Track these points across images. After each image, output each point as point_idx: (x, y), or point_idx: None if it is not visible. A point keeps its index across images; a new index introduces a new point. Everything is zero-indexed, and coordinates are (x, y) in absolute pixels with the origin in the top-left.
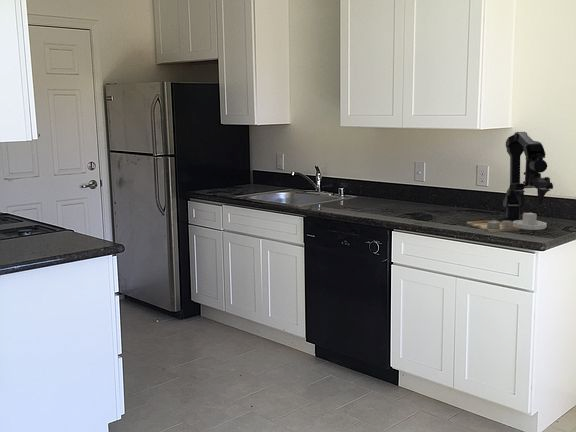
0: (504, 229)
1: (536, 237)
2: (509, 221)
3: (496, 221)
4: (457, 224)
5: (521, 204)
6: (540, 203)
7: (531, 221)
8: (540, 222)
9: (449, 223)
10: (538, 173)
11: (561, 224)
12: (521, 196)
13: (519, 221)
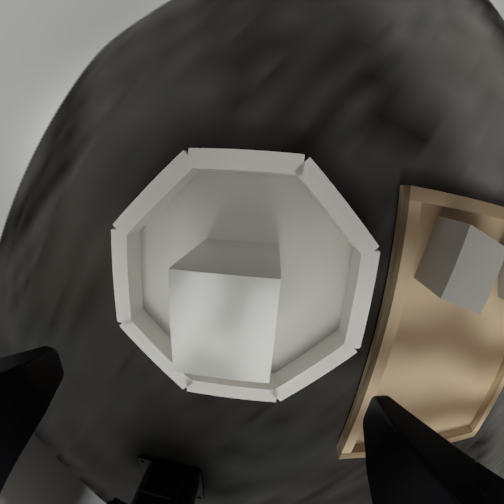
0: (501, 206)
1: (395, 8)
2: (469, 267)
3: (357, 438)
4: (471, 442)
5: (395, 402)
6: (39, 350)
7: (244, 254)
8: (130, 284)
9: (471, 456)
10: None
11: (16, 299)
12: (497, 490)
13: (250, 383)
